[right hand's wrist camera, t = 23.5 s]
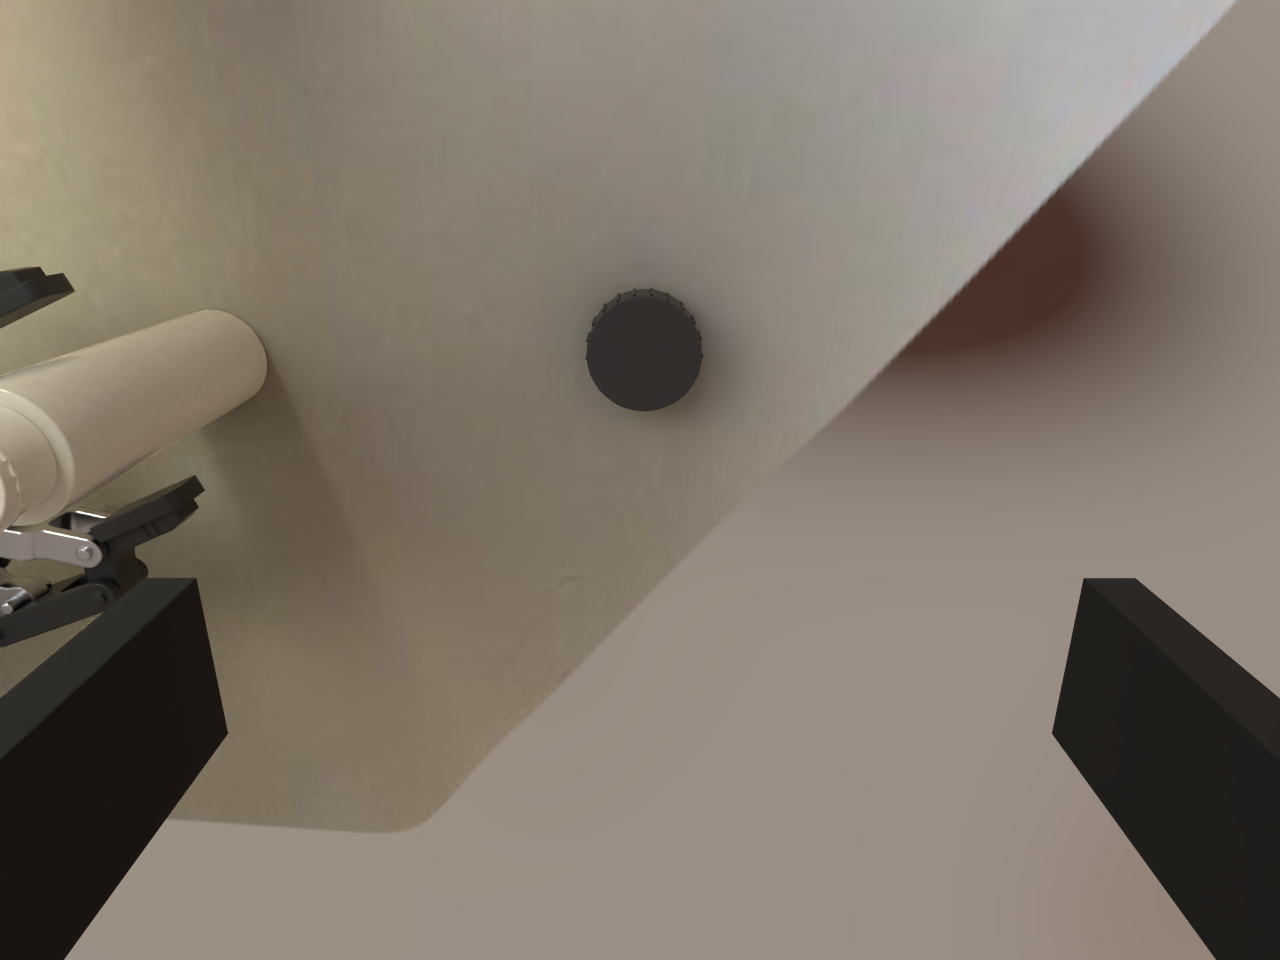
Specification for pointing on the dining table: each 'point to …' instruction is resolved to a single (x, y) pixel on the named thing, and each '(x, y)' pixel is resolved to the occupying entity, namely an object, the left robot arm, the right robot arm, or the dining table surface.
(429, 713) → the dining table surface
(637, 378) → the lid
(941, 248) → the dining table surface
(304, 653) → the dining table surface
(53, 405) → the jar
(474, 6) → the dining table surface
